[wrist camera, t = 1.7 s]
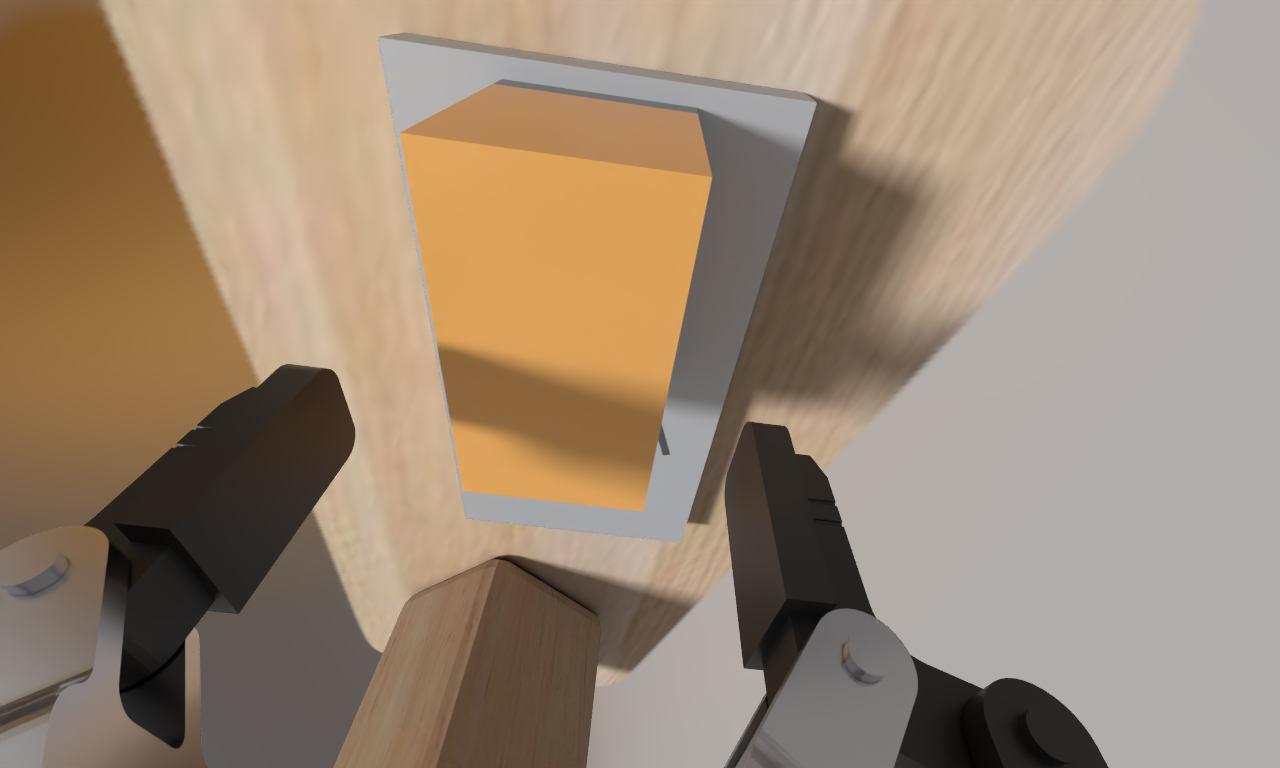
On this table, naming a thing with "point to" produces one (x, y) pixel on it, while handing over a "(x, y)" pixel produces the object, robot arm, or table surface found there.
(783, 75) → the table surface
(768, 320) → the table surface
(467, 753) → the block
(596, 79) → the board
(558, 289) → the block
